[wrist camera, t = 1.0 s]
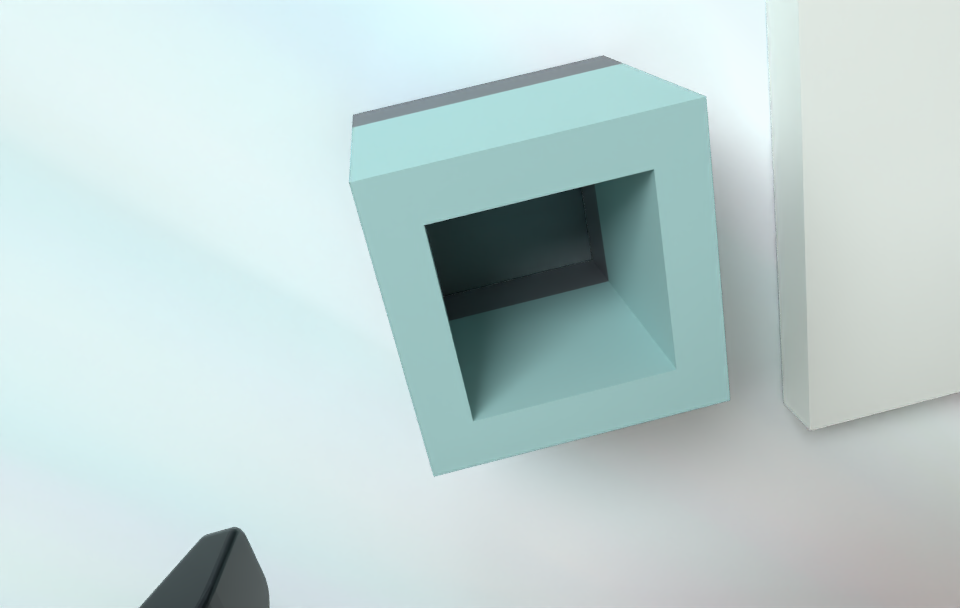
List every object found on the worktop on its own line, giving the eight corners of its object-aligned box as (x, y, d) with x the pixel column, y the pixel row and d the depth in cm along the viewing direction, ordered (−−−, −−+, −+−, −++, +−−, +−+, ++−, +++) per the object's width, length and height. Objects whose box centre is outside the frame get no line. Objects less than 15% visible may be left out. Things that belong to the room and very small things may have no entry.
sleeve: (633, 284, 21) (730, 400, 15) (414, 339, 20) (434, 476, 15) (603, 55, 18) (706, 96, 13) (353, 114, 18) (348, 182, 12)
